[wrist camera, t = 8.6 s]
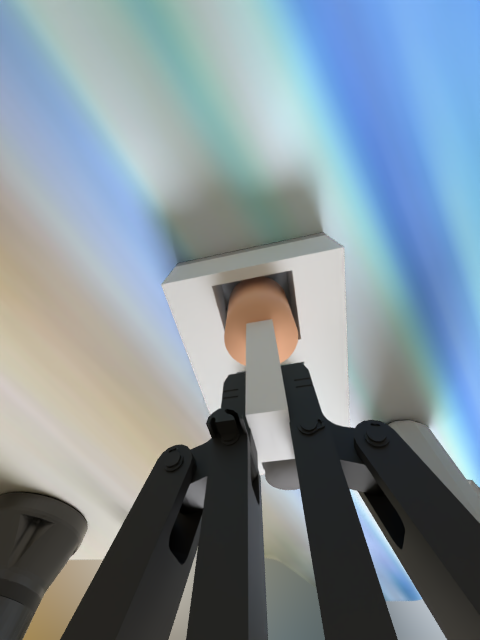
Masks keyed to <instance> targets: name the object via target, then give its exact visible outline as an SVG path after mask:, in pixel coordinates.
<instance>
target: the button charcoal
mask: <svg viewBox="0 0 480 640" xmlns="http://www.w3.org/2000/svg"><path fill="white" fill-rule="evenodd" d="M264 463H265V477H266V480H267V482H268V483H269V484H270V485H272V486H273V487H275V488H278V489H283V490H295V489H300V485H299V479H298V473H297V467H296V461H295V459H288V460H279V461H270V462H264Z"/></svg>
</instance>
